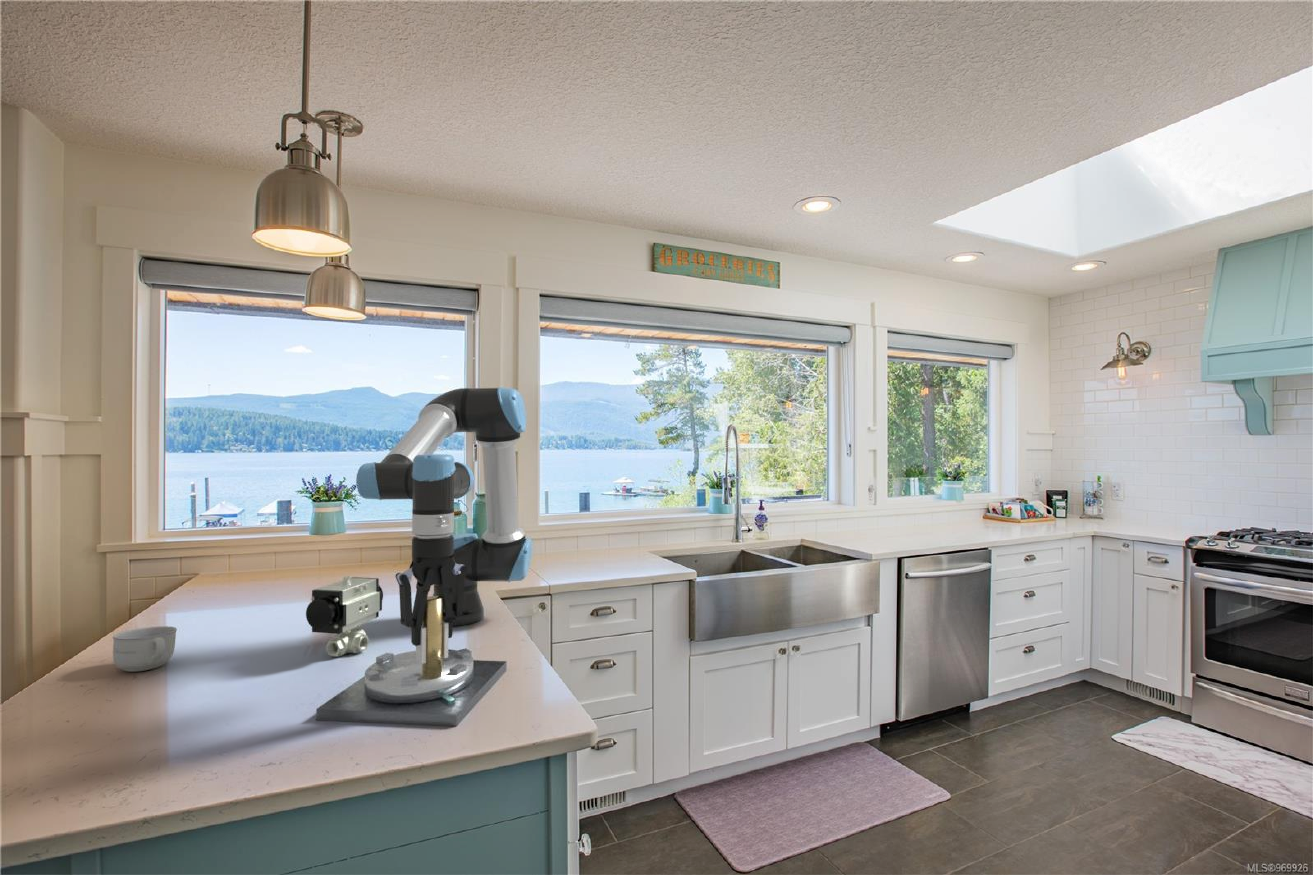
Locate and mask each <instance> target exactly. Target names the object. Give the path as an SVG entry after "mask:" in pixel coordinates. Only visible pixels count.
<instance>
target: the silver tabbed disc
mask: <svg viewBox="0 0 1313 875" xmlns="http://www.w3.org/2000/svg"><path fill="white" fill-rule="evenodd" d="M422 626H423V627H425V628H426V663H424V664H421V663H420V662H418V661H416V650H411V651H410V650H409V651H405V652H401V653H397V654H394V653H390V652H385V653H383V654H381V655H379V656H376V658H375V662H374V663H373V664H371V665H370V666H368V668H367V669H366V670H365V671H364V676H365V693H366V695H367V696H369V697H370V698H372V699H374V700H377V701H382V702H388V703H411V702H420V701H426V700H431V699H436V698H440V697H441V696H443V695H447V694H448V695H449V694H452V693H454V692H456V691H459V690H460V689H462V688H464V687H465V686H467V685H468V684H469V683H470V682H471V681H472V679H473V660H474V659H473V657H472V650H469V649H468V648H467V647H466V648H461V649H458V650H456V649H449V648H448V657H447V658H443V657H442V597H441V596H433V595H431V596H427V602H426V607H425V613H424V618H423V623H422Z"/></svg>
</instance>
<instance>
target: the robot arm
mask: <svg viewBox="0 0 1313 875" xmlns="http://www.w3.org/2000/svg"><path fill="white" fill-rule="evenodd" d="M526 429H527V413H526V407H525V404H524V399H523V397H522V395H521V393H520V392H519V391H518V390H517V389H515V388H505V387H480V388H479V387H477V388H476V387H475V388H470V387H469V388H468V387H466V388H465V387H464V388H463V387H461V388H456V389H453V390H449V391H446V392H444V393H443V394H440V395H439V396H436V397H435V398H433V399H431V400H430V401H429V402H428V403H427V404H426V405H425V406H423V408H421V411H420V412H419V413H418V418H417V421H416V422H415V423H414V424H413V425H412V427H411V428H410V429H409V430H408V431H407V432H406V433H405V434H404V436H403V437H401V439H400V440H399V441H398V442H397V444H395V445H394V447H392V449H391V450H390V451H389V453H388V454H387V455H386V456H385V457H384V458H383V459H382V460H381V461H380V462H375V461H373V462H369V463H368V462H366V463H363V464H362V465H361V466H360V467H359V469H358V470H357V473H356V477H355V478H356V479H355V485H356V488H357V492H358V494H359V496H360V497H361V498H364V499H367V500H378V501H382V500H412V510H411V513H412V516H411V521H412V522H411V534H412V535H413V538H411V562H410V565H409V568H408V569H407V570H405V571H403V572H396V574H395V579H396V581H397V583H398V589H399V590H398V591H399V610H400V611H399V612H400V623H401V625H403V626H404V627H407V628H411V634H410V635H411V637H410V638H411V641H410V642H411V644H412V645H413V646H414V647H415V651H416V661H418V662H420V663H421V664H424V663H426V628H425V627H423V626H422V623H423V618H424V613H425V607H426V602H427V597H429V596H428V595H429V592H430V591H431V587H432V586H433V593H432V596H441V597H442V657H443V658H447V657H448V649H449V639H451V638H452V637H453V628H454V627H458V626H464V625H470V624H473V623H474V624H475V623H476V622H479V621H481V620H482V619H484V617H485V616H484V615H485V610H484V605H483V601H482V600H481V596H480V593H479V590H478V582H504V583H505V582H508V583H510V582H519V581H523V580H525V579H526V577H527V575H528V573H529V569H530V566H531V560H532V552H533V551H532V550H533V543H532V542H533V541H532V539H530V538H527V537H526V532H525V530H524V529H523V528H522V527H520V522H519V521H520V518H519V516H520V515H519V501H518V499H519V497H518V480H517V477H518V476H517V460H516V456H517V454H516V444H517V443H518V441H519V440H520V439H521V433H524V432H525V431H526ZM455 433H456V434H457V433H474V435H475V441H476V442H477V443H479V445H480V446H481V449H482V451H481V452H482V463H483V464H482V466H483V480H484V481H483V482H484V495H485V496H484V497H485V513H486V514H485V515H486V516H485V517H486V527H487V528H486V530H485V531H484V533H482V535H481V536H482V537H481V538H479V536H478V534H477V533H476V532H474V533H460V534H455V535H451V534H453V533H454V532H455V499H456V500H458V499H460V498H463V497H464V496H466V495H467V494H469V492H470V491H471V490H472V489H473V486H474V483H475V476H474V473H473V471H472V469H471V468H470V467H469V466H468V465H467V464H465V463H462V462H460V461H455V458H454V456H453V455H452V454H447V453H446V454H443V453H442V454H440V453H438V454H437V453H436V454H435V452H436V451H437V449H438V448H439V446H440V445H441V443H442V442H443V441H444V440H446V439H447V438H450V437H452V436H453V435H454V434H455ZM412 576H414V578H415V579H416V585H415V588H416V593H415V597H414V602H413V601H412V600H413V599H412V586H411V582H412V578H413V577H412Z"/></svg>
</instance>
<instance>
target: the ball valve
mask: <svg viewBox="0 0 1313 875" xmlns="http://www.w3.org/2000/svg"><path fill="white" fill-rule="evenodd" d="M379 579H380V578H378V577H362V576H361V577H358V576H353V577H351V576H350V575H346V576H344V577H342V580H340V581H337V582H334V583H330V584H328V585H325V586H322V587H318V588H314V589H312V590H311V602H310V603H309V604H308V605H307V607H306V611H305V618H306V621H307V623H308V625H309V626H310V627H311V632H312V633H319V634H333V635H334V634H335V636H333V637H331V638H330V639H329V641H328V642H327V644H326V646H325V650H326V653H327V655H328V656H329V657H342V656H344V655H346V654H359V653H363V652H364V651H366V650H367V649H368V646H369V644H370V643H369V642H370V640H369V637H368V635H367V634H366V632H365V630H364V628H360V627H361V626H362V625H363V624H366V623H368V622H370V621H372V620H374V619H377V618H379V613H380V612H382V611H383V599H384V592H383V589H382V587H381V586H380V583H379V582H380V580H379Z"/></svg>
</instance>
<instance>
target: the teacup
mask: <svg viewBox="0 0 1313 875" xmlns="http://www.w3.org/2000/svg"><path fill="white" fill-rule="evenodd" d="M177 631H178V629H177V627H175V626H167V625H166V626H165V625H163V626H162V625H161V626H159V625H158V626H147V627H139V628H133V629H128V630H124V631H120V632H117V633H116V634H114V635H113V636H112V639H113V644H112V660H113V663H114V665H115V666H116V667H118V668H120V669H122V670H123V671H124V672H127V673H129V672H131V673H132V672H136V673H137V672H143V671H149V670H154V669H157V668H160V667H162V666H163V665H164V664H165V663H166V662H168V661H169V660H170V659H171V658H172V657H173V655H174V652H175V649H176V648H175V646H176V635H177V634H176V633H177Z"/></svg>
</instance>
